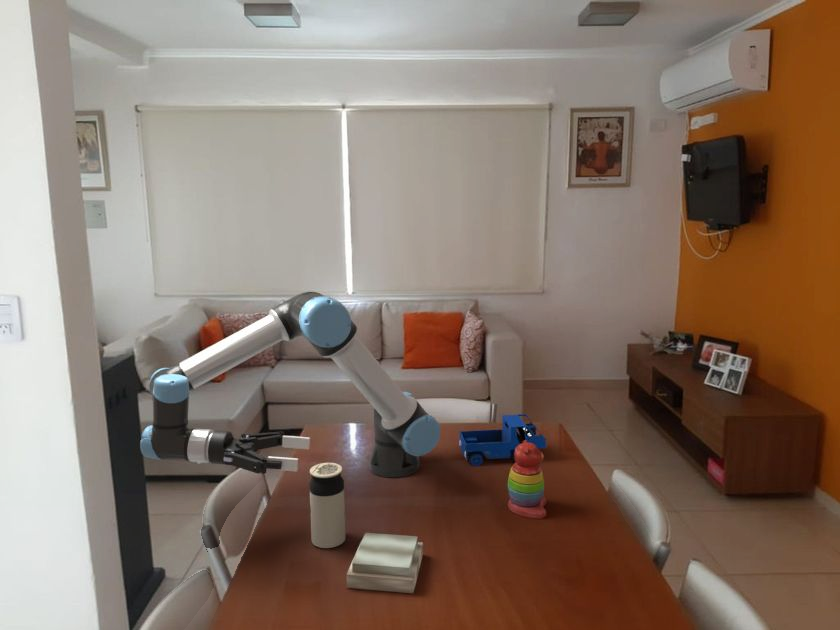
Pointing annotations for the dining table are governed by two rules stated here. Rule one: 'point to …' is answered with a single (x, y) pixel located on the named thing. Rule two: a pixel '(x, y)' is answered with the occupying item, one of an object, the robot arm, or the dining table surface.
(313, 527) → the travel mug
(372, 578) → the plinth
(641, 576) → the dining table surface
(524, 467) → the stacking bear
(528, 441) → the toy vehicle
